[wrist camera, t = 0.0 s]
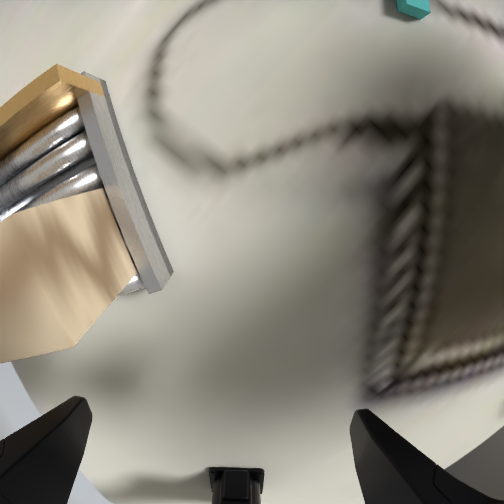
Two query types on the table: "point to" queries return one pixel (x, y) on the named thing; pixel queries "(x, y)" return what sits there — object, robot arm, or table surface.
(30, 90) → the roller conveyor
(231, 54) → the table surface
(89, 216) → the beige box
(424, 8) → the alien figure
